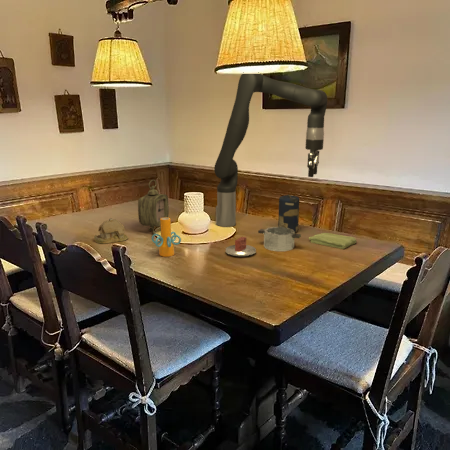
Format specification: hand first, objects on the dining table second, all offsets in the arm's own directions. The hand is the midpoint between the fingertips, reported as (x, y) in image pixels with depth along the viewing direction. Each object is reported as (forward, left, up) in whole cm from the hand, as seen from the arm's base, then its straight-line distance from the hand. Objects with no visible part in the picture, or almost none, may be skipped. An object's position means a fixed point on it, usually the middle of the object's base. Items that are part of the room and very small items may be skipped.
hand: (312, 175), depth 189 cm
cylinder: (-45, -50, -29) cm, 73 cm away
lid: (-19, -35, -28) cm, 49 cm away
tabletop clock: (-70, -24, -29) cm, 79 cm away
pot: (-8, -20, -28) cm, 36 cm away
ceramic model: (-78, -44, -29) cm, 94 cm away
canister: (-12, +4, -29) cm, 31 cm away
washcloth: (+11, -4, -29) cm, 31 cm away
